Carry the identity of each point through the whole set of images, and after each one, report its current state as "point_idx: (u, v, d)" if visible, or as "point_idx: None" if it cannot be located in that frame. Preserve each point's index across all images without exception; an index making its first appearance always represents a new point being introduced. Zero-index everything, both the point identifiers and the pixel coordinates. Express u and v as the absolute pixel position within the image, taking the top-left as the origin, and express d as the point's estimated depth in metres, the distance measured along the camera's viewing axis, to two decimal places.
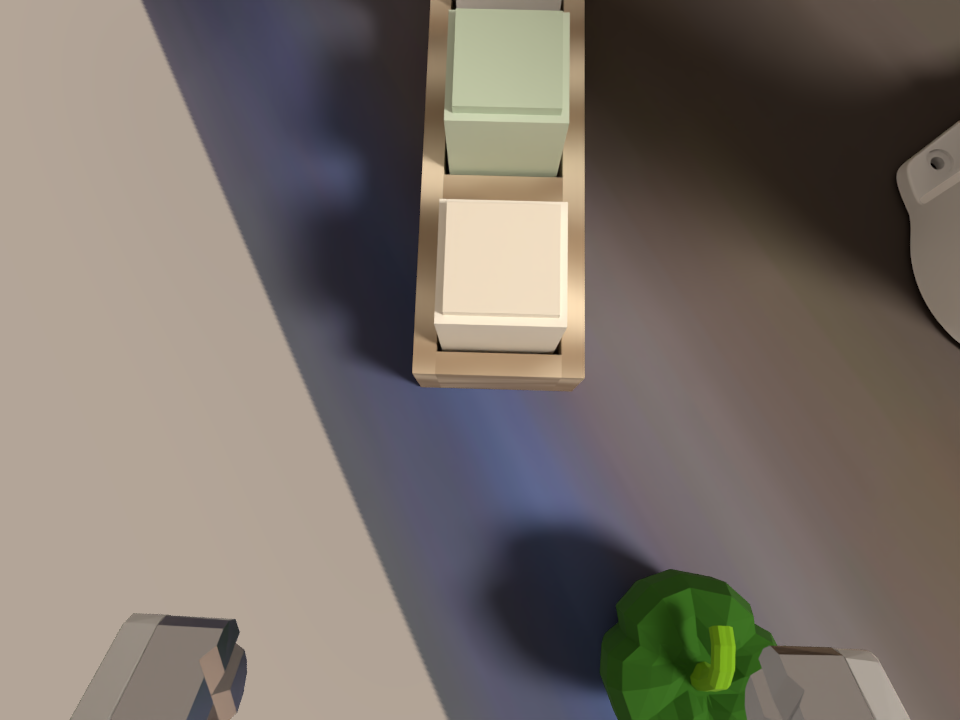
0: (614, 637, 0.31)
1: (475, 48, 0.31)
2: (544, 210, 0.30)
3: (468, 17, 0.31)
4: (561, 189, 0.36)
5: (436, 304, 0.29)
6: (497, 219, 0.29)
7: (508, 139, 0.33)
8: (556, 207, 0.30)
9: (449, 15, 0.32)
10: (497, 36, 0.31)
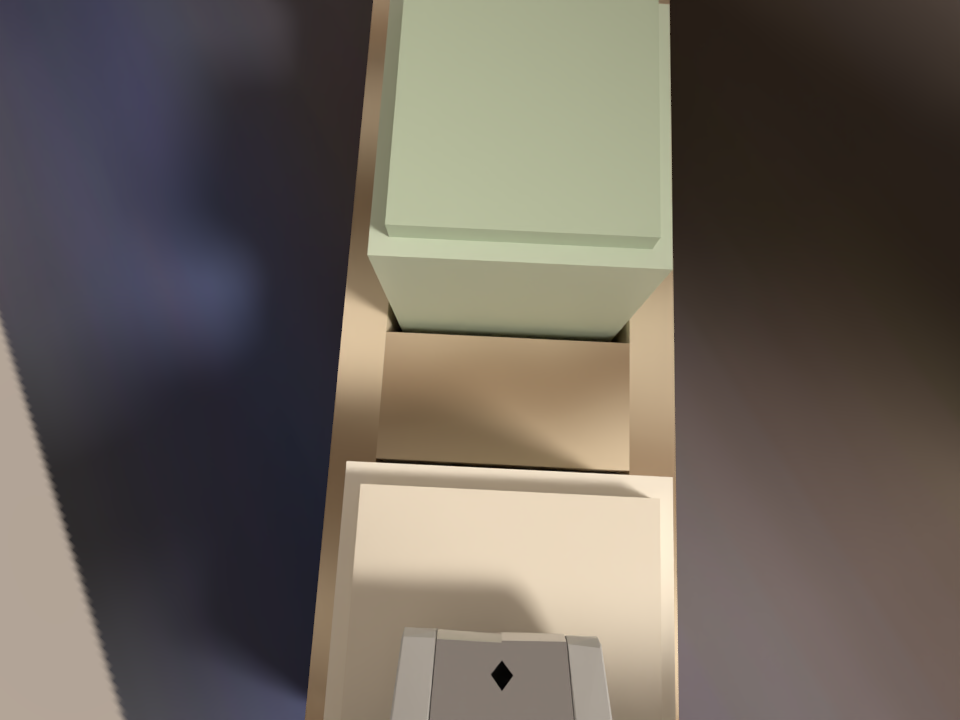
0: None
1: (448, 83, 0.13)
2: (617, 515, 0.11)
3: (434, 10, 0.13)
4: (626, 368, 0.17)
5: None
6: (491, 537, 0.11)
7: (523, 288, 0.14)
8: (648, 506, 0.11)
9: (392, 4, 0.14)
10: (501, 55, 0.13)
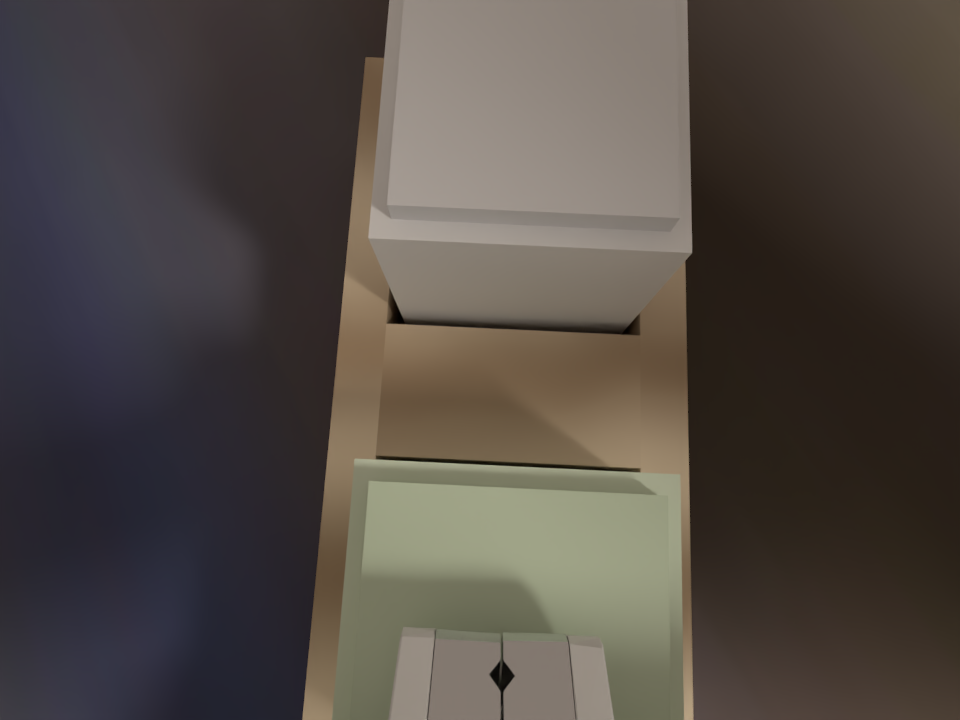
0: None
1: (418, 615, 0.11)
2: None
3: (404, 512, 0.11)
4: None
5: None
6: None
7: None
8: None
9: (356, 475, 0.12)
10: (482, 575, 0.11)
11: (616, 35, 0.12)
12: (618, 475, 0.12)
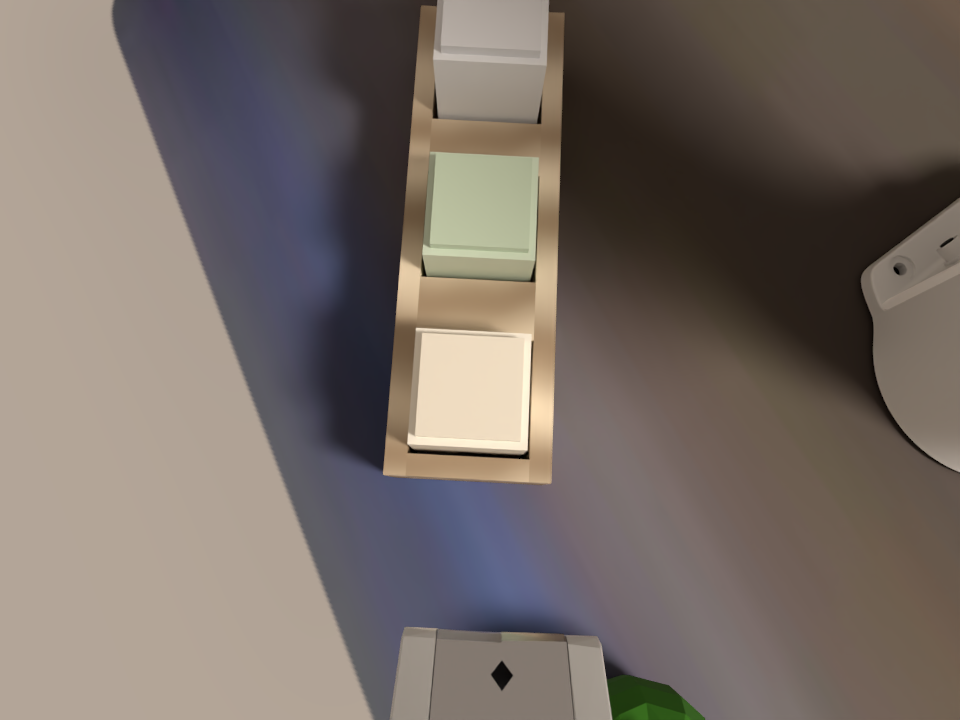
0: None
1: (452, 190, 0.34)
2: (509, 343, 0.33)
3: (447, 162, 0.35)
4: (534, 294, 0.37)
5: (410, 426, 0.33)
6: (466, 350, 0.33)
7: (481, 268, 0.36)
8: (520, 340, 0.33)
9: (430, 157, 0.36)
10: (472, 180, 0.35)
11: None
12: None
